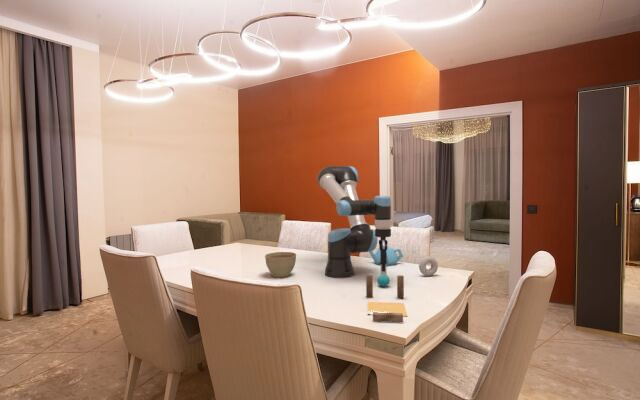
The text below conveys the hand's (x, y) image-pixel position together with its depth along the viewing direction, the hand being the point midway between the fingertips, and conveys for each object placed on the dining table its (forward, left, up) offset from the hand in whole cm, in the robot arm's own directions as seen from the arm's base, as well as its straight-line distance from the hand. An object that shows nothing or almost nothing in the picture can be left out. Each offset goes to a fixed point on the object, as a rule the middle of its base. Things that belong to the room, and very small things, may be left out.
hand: (383, 277), depth 175 cm
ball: (0, -8, +1) cm, 8 cm away
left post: (-7, -24, -2) cm, 25 cm away
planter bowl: (-52, +8, -2) cm, 53 cm away
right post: (+6, -24, -2) cm, 25 cm away
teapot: (+2, +41, -3) cm, 41 cm away
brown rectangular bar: (0, -50, -2) cm, 50 cm away
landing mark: (0, -38, -2) cm, 38 cm away
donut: (+23, +13, -2) cm, 26 cm away
